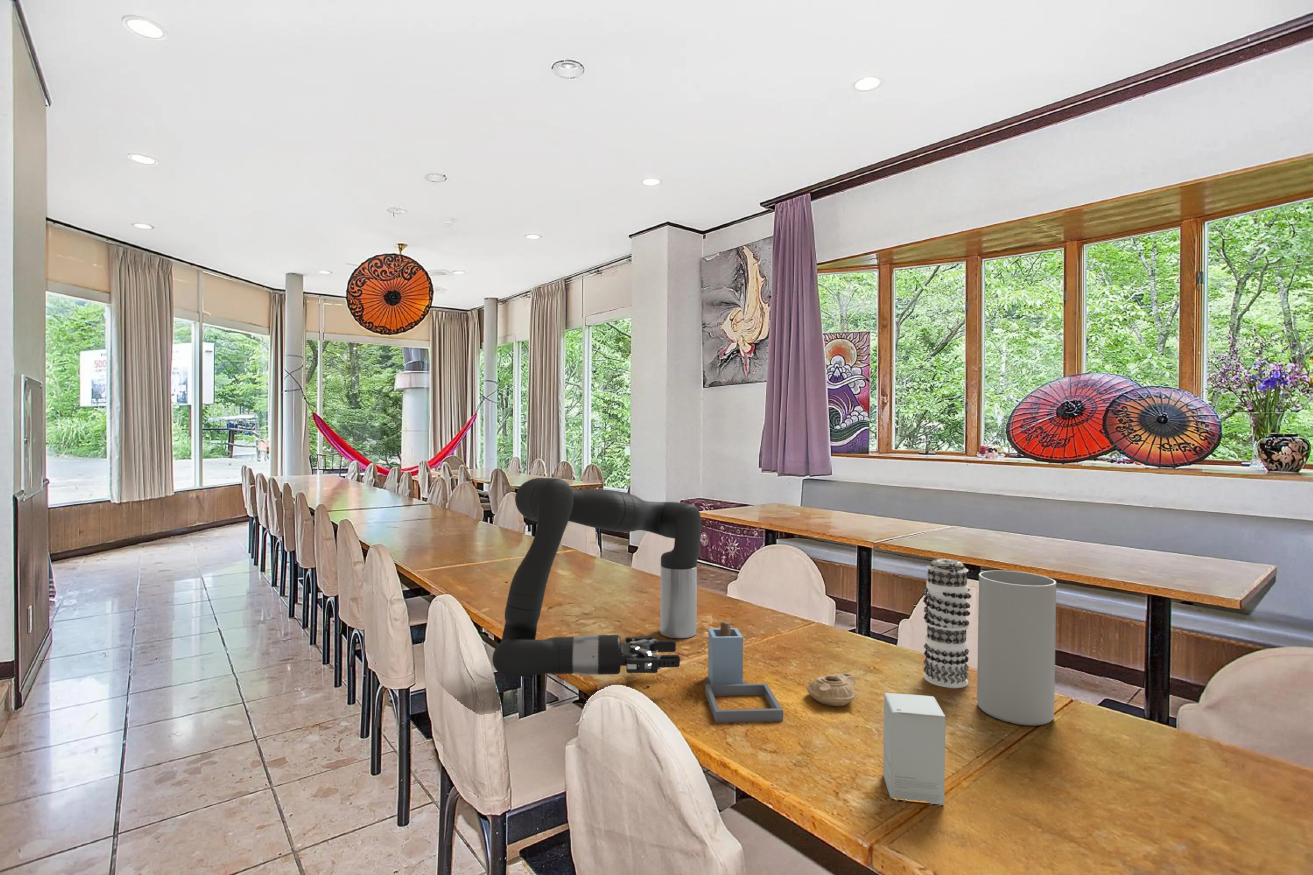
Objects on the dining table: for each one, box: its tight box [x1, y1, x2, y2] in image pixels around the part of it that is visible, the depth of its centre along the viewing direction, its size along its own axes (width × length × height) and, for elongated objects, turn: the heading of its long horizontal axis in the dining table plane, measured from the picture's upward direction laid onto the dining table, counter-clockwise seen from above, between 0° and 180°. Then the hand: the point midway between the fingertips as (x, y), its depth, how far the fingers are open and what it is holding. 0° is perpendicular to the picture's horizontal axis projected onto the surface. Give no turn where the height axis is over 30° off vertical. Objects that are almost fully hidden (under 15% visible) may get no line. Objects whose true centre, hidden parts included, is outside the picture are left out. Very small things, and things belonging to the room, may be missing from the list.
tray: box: [704, 683, 784, 723], centre depth 119 cm, size 12×12×3 cm
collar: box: [707, 627, 744, 685], centre depth 131 cm, size 6×6×10 cm
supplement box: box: [882, 692, 946, 805], centre depth 94 cm, size 7×7×13 cm
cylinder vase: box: [976, 570, 1057, 726], centre depth 120 cm, size 12×12×25 cm
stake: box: [702, 621, 748, 687], centre depth 131 cm, size 9×9×13 cm
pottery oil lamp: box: [806, 672, 857, 707], centre depth 124 cm, size 9×12×7 cm
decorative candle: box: [922, 558, 972, 689], centre depth 135 cm, size 9×9×25 cm
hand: (677, 653), depth 130 cm, fingers open, 8 cm apart
